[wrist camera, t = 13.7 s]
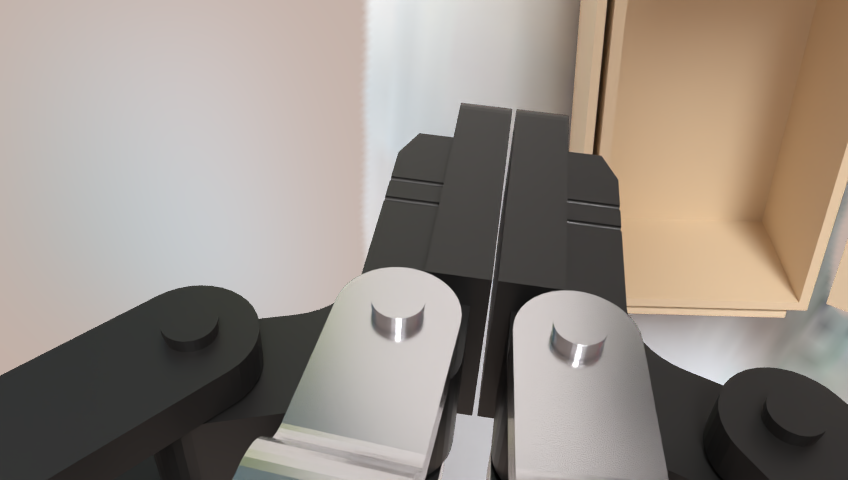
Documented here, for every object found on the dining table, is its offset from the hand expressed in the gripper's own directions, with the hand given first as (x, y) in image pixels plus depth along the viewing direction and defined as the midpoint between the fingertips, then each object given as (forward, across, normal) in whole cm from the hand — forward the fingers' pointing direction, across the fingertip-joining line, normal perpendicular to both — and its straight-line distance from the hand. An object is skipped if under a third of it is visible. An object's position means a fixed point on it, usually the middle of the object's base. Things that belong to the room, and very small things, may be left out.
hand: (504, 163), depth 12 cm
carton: (+31, -10, +12) cm, 35 cm away
